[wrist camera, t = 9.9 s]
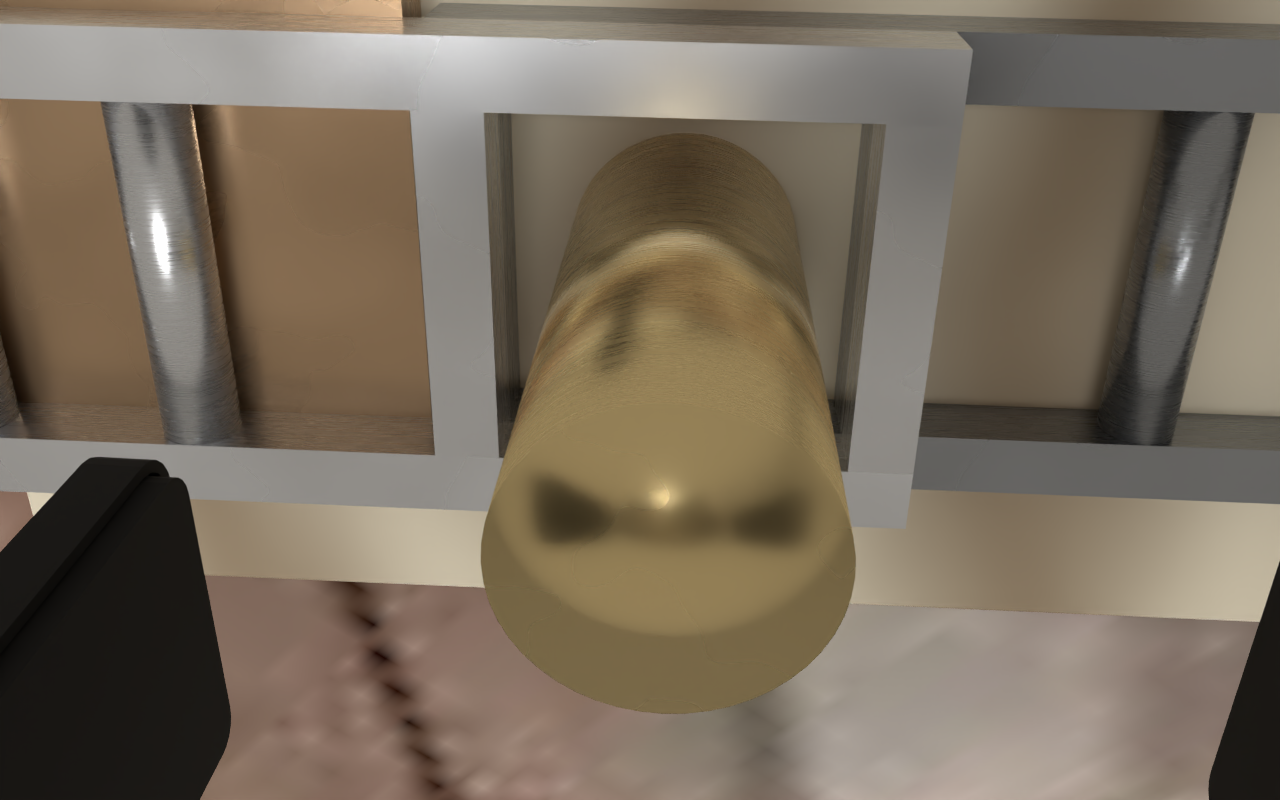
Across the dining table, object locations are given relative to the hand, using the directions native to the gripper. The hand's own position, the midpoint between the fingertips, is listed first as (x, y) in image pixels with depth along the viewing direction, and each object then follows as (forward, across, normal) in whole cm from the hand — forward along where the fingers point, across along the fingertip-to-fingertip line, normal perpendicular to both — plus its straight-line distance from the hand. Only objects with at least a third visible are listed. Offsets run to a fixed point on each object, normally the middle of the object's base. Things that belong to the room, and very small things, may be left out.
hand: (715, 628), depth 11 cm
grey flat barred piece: (+10, +5, 0) cm, 11 cm away
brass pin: (+10, +1, 0) cm, 10 cm away
